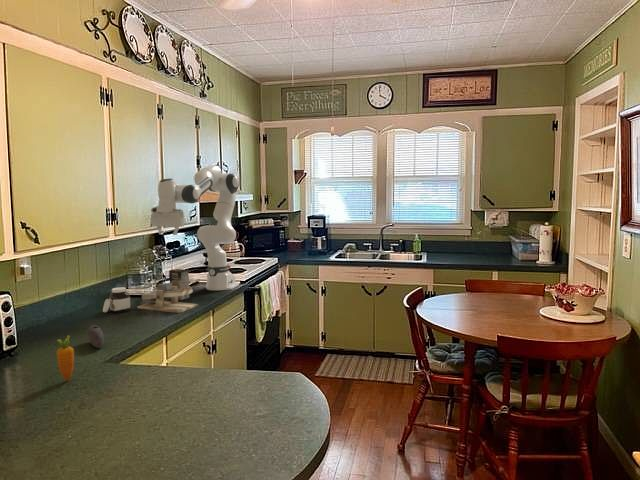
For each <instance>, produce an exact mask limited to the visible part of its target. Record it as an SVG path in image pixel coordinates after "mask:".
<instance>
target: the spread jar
mask: <svg viewBox="0 0 640 480" xmlns="http://www.w3.org/2000/svg"><path fill="white" fill-rule="evenodd" d="M109 308H110V309H109ZM130 308H131V296H130V294H129V292H128V291H127V287H124V286H123V287H122V286H120V287H113V288H111V293H110V295H109V298H106V299H105V300H104V304H103V307H102V312H103V313H108V311H109V310H111V311H112V313H118V314H120V313H125V312H127V311H128V310H129V309H130Z"/></svg>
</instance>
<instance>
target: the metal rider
mask: <svg viewBox="0 0 640 480" xmlns="http://www.w3.org/2000/svg"><path fill="white" fill-rule="evenodd" d="M156 286H157V290H163V292H165V291H173V290H172V284H171V283H170V282H166V283H159V284H157V285H156Z"/></svg>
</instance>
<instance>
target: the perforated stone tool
mask: <svg viewBox="0 0 640 480" xmlns="http://www.w3.org/2000/svg"><path fill="white" fill-rule="evenodd" d="M86 336H87V340H88V341H89V343H90V344H91V345H92V346H93V347H95V348H96V349H101V348H102V347H103V346H104V344H105V338H104V337H105V336H104V333H103V331H102V329H101V327H100V326H98V325H96V324H92V325H89V326H88V327H87V331H86Z"/></svg>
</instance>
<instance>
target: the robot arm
mask: <svg viewBox="0 0 640 480" xmlns="http://www.w3.org/2000/svg"><path fill="white" fill-rule="evenodd" d="M193 181H194V184H182V185H181V184H178V182H177V183H176V181H175V180H174V179H173V178H164V179H160V180H159V182H158V186H157V196H158V205H157V206H154V207H151V209H150V213H151V214H150V225H151V226H152V227H156V229H157V232H158V234H159V235H164V231H163V230H162V227H174V231H173V232H172V235H173V236H178V231H179V229H180V228H181V227H185V225H186V220H185V215H184V213H185V212H184V211H183V210H182V209H181V208H179V209H177V206H176V205H177V203H178V204H179V203H181V204H184V203H185V204H195V203H198V201H199V199H200V198H201V197H202V195H204V194H205V193H207V191H210V192H212V193H213V192H214V193H215V192H219V196H218V198H217V201H216V204H215V208H214V210H213V218H214V219H215V220H216V221H217V223H216V225H212V224H211V225H207V224H206V225H203V226H199V228H198V229H197V233H196V237H197V239H198V240H199V242H201V244H202V245H203V247H204V248H205V250H206V253H207V262H208V263H207V264H208V266H207V275H206V285H205V289H206V290H208V291H225V290H226V291H228V290H233V289H234V288H236V287H238V286H240V285H239V284H240V282H237V283H236V280H237V279H236V276H235V274H233V273H232V272H231V271H230V269H231V265H230V264H228V263H227V261H228V260H227V259H228V258H227V252H226V251H225V250H224V249H222V247H221V246H220V244H222V245H223V244H224V245H226V244H231V243H233V242H234V241H235V240H236V237H237V231H236V230H235V229H234V227H233V226H232V217H233V216H232V215H233V213H234V209H235V205H236V197H237V196H236V192H238V189H239V186H240V183H241V182H240V178H239V176H238V175H237V174H235V173H222V169H221V168H220V167H219V166H217V165H208V166H206V167H204V168H201V169H199V170H198V171H197V172H196V173H195V174H194V176H193Z"/></svg>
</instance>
